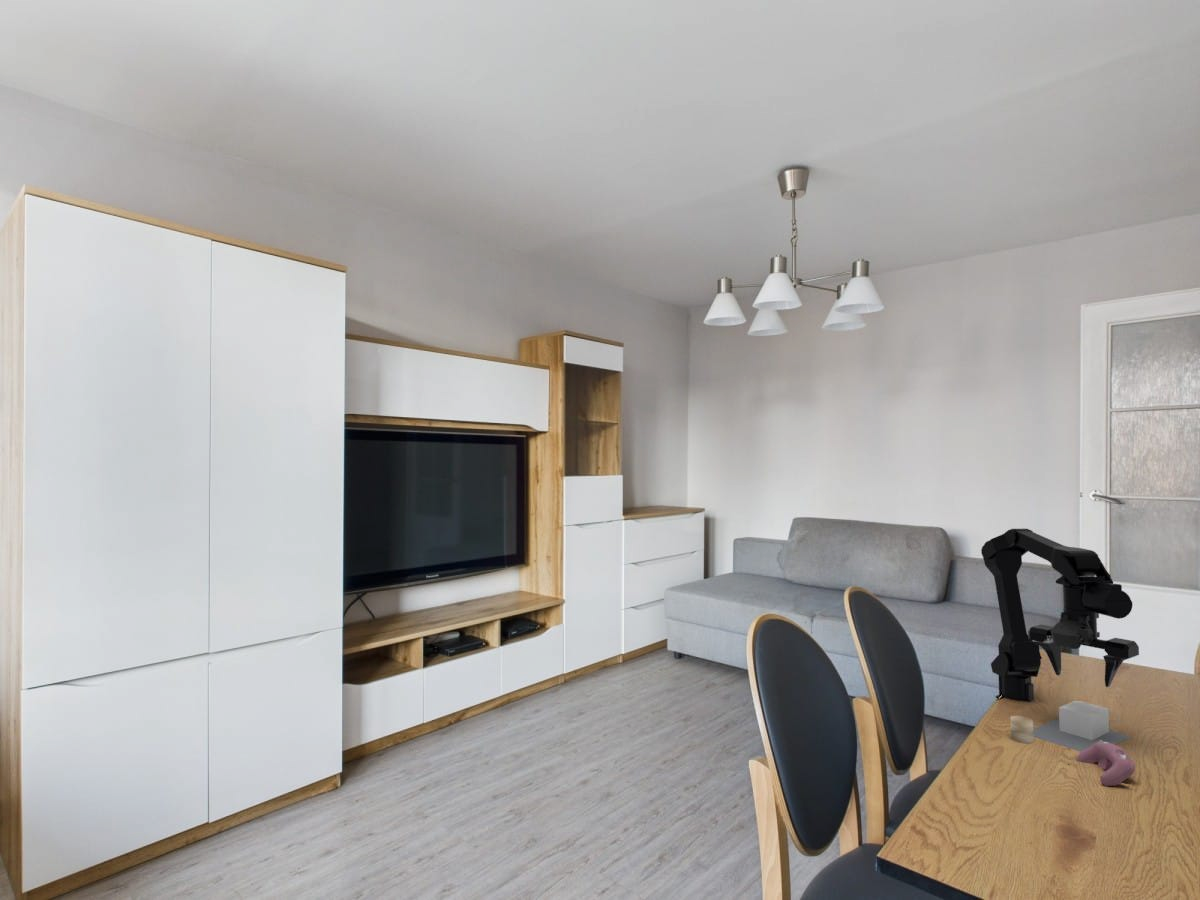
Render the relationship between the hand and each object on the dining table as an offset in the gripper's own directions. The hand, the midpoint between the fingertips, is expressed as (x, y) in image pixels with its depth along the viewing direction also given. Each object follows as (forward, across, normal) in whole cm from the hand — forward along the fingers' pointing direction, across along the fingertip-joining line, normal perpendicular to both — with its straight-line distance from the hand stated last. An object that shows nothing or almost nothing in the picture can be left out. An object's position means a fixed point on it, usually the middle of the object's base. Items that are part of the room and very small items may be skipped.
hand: (1082, 680), depth 139 cm
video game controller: (+12, +11, -18) cm, 24 cm away
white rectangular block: (+11, 0, 0) cm, 11 cm away
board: (+12, 0, -4) cm, 12 cm away
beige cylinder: (+12, -5, -16) cm, 20 cm away
